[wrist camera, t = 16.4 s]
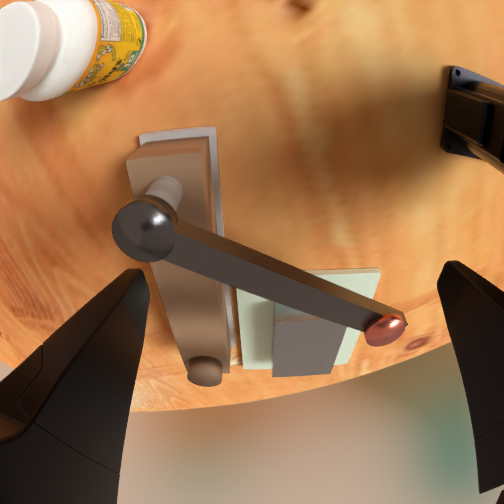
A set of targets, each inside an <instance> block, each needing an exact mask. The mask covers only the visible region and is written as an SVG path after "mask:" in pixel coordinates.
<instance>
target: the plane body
mask: <svg viewBox="0 0 504 504" xmlns="http://www.w3.org/2000/svg"><path fill="white" fill-rule="evenodd" d="M139 140H140V146H141V147H140V148H138V149H137V150H136V151H135V152H134V153H133V154H132V155H131V156H130V157H128V158H127V159H126V160H125V161H126V166H127V171H128V176H129V180H130V185H131V190H132V194H133V197H134V196H137V195H141V194H149V195H154V196H157V197H160V198H162V199H163V200H165V201H166V202H168V203H169V204H170V205H171V206H172V207H173V209H174V210H175V212H176V213H177V216H178V218H179V219H181V220H183V221H186V222H188V223H191V224H193V225H195V226H198V227H200V228H203V229H205V230H207V231H210V232H212V233H215V234H217V235H219V236H222V237H224V238H225V233H224V222H223V210H222V198H221V186H220V173H219V160H218V146H217V131H216V126H202V127H190V128H179V129H170V130H161V131H153V132H146V133H141V134H140V135H139ZM150 264H151V268H152V271H153V274H154V278H155V281H156V284H157V288H158V291H159V294H160V297H161V300H162V303H163V306H164V309H165V312H166V315H167V318H168V321H169V324H170V327H171V330H172V332H173V335H174V338H175V341H176V343H177V346H178V349H179V351H180V354H181V357H182V359H183V362H184V365H185V367H186V370H187V372H188V375H187V378H188V380H189V381H190V382H192V383H194V384H196V385H199V386H205V387H211V386H216V385H219V384H220V383H221V382H222V373H230V356H231V347H236V341H235V332H234V323H233V314H232V305H231V295H230V286H229V285H227V284H224V283H221V282H219V281H216V280H213V279H211V278H208V277H206V276H203V275H200V274H198V273H195V272H193V271H190V270H187V269H185V268H182V267H180V266H177V265H175V264H172V263H170V262H167V261H165V260H160V261H157V262H150Z"/></svg>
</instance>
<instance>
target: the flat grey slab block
mask: <svg viewBox="0 0 504 504" xmlns="http://www.w3.org/2000/svg"><path fill="white" fill-rule="evenodd" d="M346 329H347V326H343V325H340V324H337V323H334V322H331V321H328V320H325V319H322V318H319V317H316V316H313V315H311V314H308V313H305V312H302V311H299V310H296V309H293V308H290V307H287V306H284V305H282V304H279V303H276V302H274V314H273V334H272V352H271V363H272V377H289V376H307V375H320V374H330V373H331V370H332V368H333V365H334V362H335V360H336V357H337V354H338V352H339V349H340V346H341V343H342V340H343V338H344V335H345V332H346Z"/></svg>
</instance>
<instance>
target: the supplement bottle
mask: <svg viewBox="0 0 504 504" xmlns="http://www.w3.org/2000/svg"><path fill="white" fill-rule="evenodd" d="M146 41H147V30H146V26H145V23H144V20H143V19H142V17H141V16H140V15H139V13H138V12H137V11H135V10H134V9H132V8H130V7H128V6H126V5H123V4H120V3H116V2H113V1H110V0H35V1H31V2H25V1H19V2H14V3H11V4H8V5H6V6H5V7H3V8H2V9H0V101H4V100H8V99H11V98H14V97H18V96H19V97H21V98H23V99H25V100H29V101H46V100H50V99H53V98H56V97H59V96H62V95H65V94H68V93H72V92H75V91H78V90H81V89H84V88H88V87H91V86H95V85H99V84H103V83H107V82H110V81H113V80H116V79H118V78H120V77H122V76H123V75H125V74H126V73H127V72H129V71H130V70H131V69H132V68H133V67H134V65H135V64H136V62H137V61H138V60H139V58H140V56H141V55H142V53H143V51H144V48H145V45H146Z"/></svg>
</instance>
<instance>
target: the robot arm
mask: <svg viewBox="0 0 504 504" xmlns="http://www.w3.org/2000/svg"><path fill="white" fill-rule="evenodd" d="M456 70H457V75H456V74H455V71H456ZM447 143H448V146H447V147H446V144H447ZM440 146H441V149H442V150H444V151H445V152H447V153H453V154H458V155H463V156H468V157H473V158H477V159H482V160H484V161H486V162H487V163H489V164H490V165H492V166H493V167H494V168H496V169H497V170H499V171H500V172H501V173H503V174H504V86H503V85H501V84H499V83H497V82H495V81H492V80H490V79H488V78H486V77H484V76H481V75H479V74H476V73H474V72H472V71H469V70H467V69H464V68H461V67H459V66H451V67H450V69H449V81H448V92H447V99H446V108H445V115H444V125H443V131H442V137H441V143H440ZM437 289H438V293H439V296H440V300H441V304H442V307H443V311H444V315H445V319H446V324H447V327H448V331H449V334H450V337H451V341H452V343H453V347H454V350H455V354H456V357H457V361H458V364H459V368H460V372H461V376H462V380H463V384H464V388H465V392H466V397H467V402H468V406H469V411H470V416H471V422H472V428H473V435H474V440H475V441H474V443H475V450H476V459H477V469H478V484H479V493H480V494H481V493H483V492H486V491H489V490H491V489H494V488H496V487H499V486H501V485H503V484H504V292H503V291H502V290H500V289H499V288H497V287H496V286H495V285H493V284H492V283H490V282H489V281H488V280H486V279H485V278H483V277H482V276H480V275H479V274H477V273H476V272H474V271H473V270H471V269H470V268H468V267H467V266H465V265H464V264H462V263H461V262H459V261H457V260H453V261H447V262H446V263H445V265H444V267H443V269H442V272H441V274H440V276H439V278H438V281H437ZM149 300H150V292H149V288H148V285H147V282H146V279H145V276H144V273H143V271H142V270H141V269H127V270H125V271H124V272H123V273H122V274H121V275H119V276H118V277H117V278H116V279H115V280H113V281H112V282H111V283H110V284H109V285H107V286H106V287H105V288H104V289H103V290H102V291H100V292H99V293H98V294H97V295H96V296H95V297H93V298H92V299H91V300H90V301H89V302H88V303H86V304H85V305H84V306H83V307H82V308H81V309H80V310H79V311H77V312H76V313H75V314H74V315H73V316H72V317H71V318H70V319H68V320H67V321H66V322H65V323H64V324H63V325H62V326H61V327H60V328H59V329H57V330H56V331H55V332H54V333H53V334H52V335H51V336H50V337H49V338H48V339H47V340H46V341H45V342H43V345H40V346H39V347H38V348H37V349H36V350H35V351H34V352H33V353H32V354H31V355H30V356H29V357H28V358H27V359H25V360H24V361H23V362H22V363H21V364H20V365H19V366H18V367H17V368H16V369H14V370H13V371H12V372H11V373H10V374H9V375H8V376H6V377H5V378H4V379H3V380H2V381H1V382H0V504H117V495H118V486H119V477H120V474H119V473H120V468H121V460H122V453H123V445H124V440H125V434H126V427H127V422H128V416H129V411H130V405H131V400H132V395H133V390H134V385H135V380H136V376H137V371H138V366H139V362H140V358H141V353H142V348H143V343H144V336H145V328H146V321H147V313H148V306H149ZM496 504H504V490H502V491H501V494H500V496H499V498H498V500H497V503H496Z"/></svg>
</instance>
